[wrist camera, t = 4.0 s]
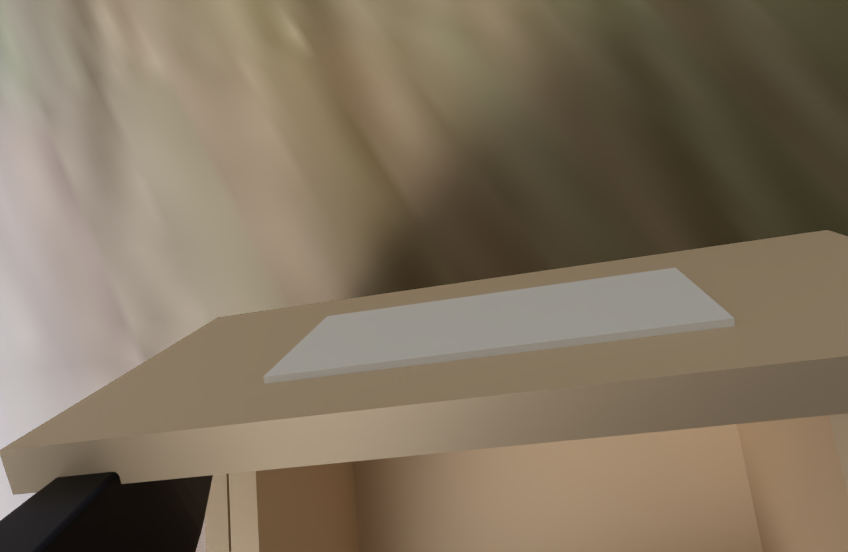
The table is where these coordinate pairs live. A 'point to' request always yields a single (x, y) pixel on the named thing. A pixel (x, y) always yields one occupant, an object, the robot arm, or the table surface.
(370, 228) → the table surface
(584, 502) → the carton
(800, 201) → the table surface
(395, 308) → the carton flap
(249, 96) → the table surface
